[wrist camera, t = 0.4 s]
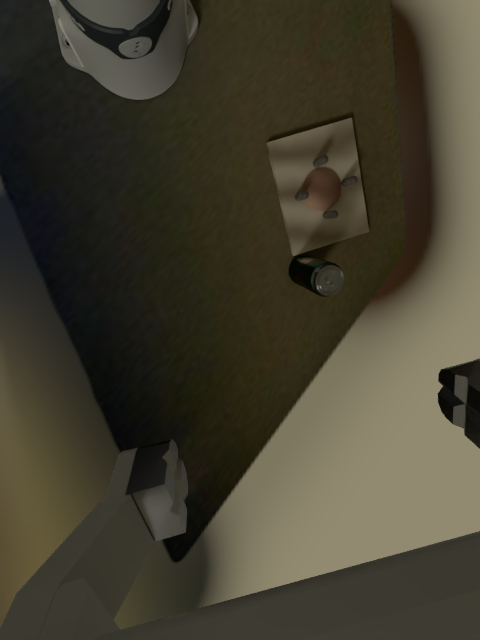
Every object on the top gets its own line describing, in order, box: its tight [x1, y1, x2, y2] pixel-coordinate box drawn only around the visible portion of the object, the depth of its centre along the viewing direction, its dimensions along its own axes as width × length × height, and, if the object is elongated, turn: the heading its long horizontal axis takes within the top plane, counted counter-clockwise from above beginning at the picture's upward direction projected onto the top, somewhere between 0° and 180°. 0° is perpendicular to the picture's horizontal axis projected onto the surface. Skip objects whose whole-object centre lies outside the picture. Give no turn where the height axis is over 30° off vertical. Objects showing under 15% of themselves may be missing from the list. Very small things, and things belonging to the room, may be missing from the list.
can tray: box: [266, 118, 369, 256], centre depth 51 cm, size 18×14×5 cm
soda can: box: [289, 256, 344, 297], centre depth 51 cm, size 5×5×12 cm
